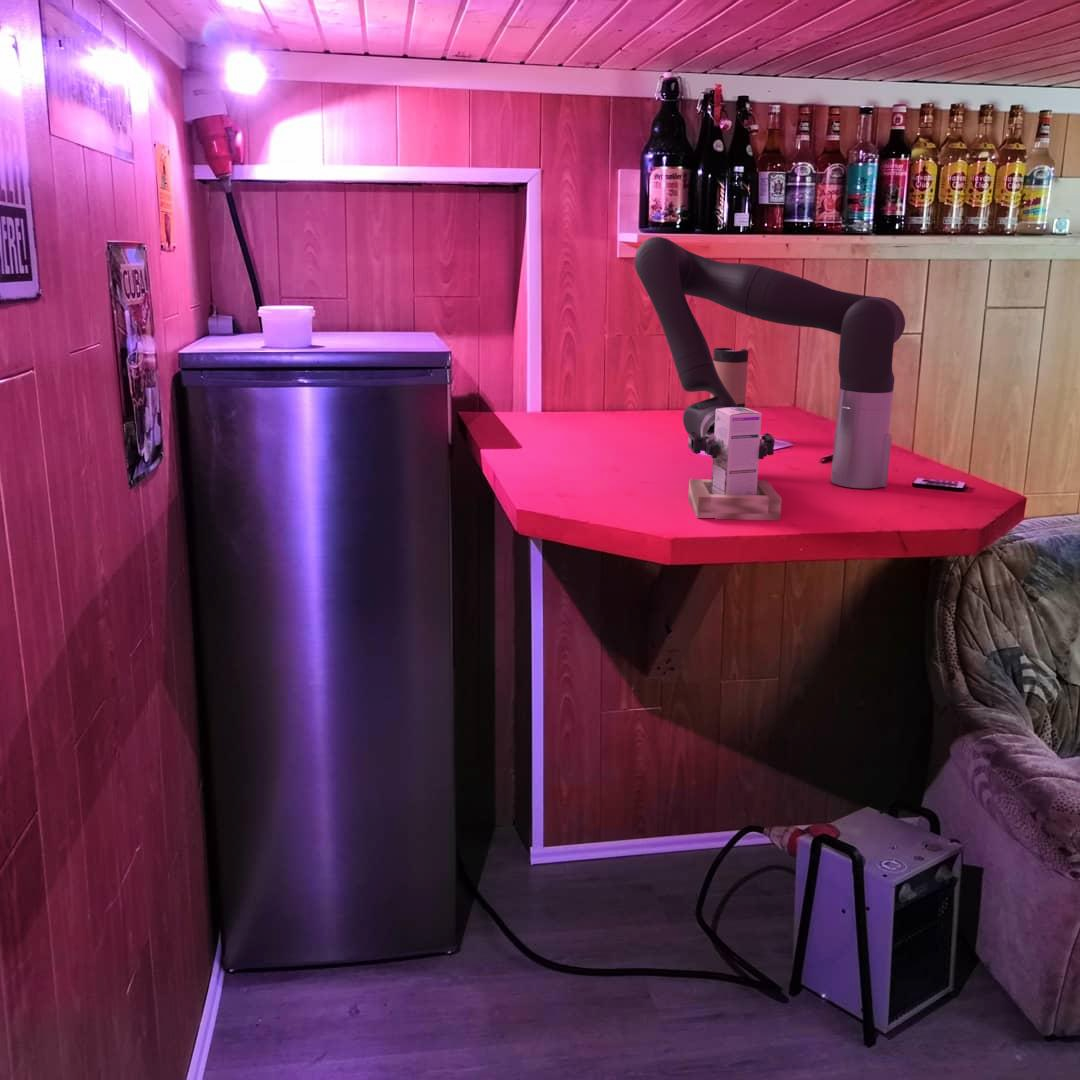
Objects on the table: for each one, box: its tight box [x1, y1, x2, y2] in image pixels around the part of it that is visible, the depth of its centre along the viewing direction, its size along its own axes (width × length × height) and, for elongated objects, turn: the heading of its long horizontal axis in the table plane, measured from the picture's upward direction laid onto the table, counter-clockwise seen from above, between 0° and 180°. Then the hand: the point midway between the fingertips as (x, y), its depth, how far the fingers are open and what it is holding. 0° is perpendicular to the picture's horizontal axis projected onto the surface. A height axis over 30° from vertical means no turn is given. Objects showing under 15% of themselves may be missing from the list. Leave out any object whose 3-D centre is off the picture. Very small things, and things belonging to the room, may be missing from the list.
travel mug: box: [709, 347, 749, 408], centre depth 231 cm, size 8×8×20 cm
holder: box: [687, 478, 783, 521], centre depth 172 cm, size 13×13×4 cm
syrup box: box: [711, 407, 763, 495], centre depth 170 cm, size 6×6×14 cm
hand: (738, 452), depth 167 cm, fingers closed on syrup box, 7 cm apart
